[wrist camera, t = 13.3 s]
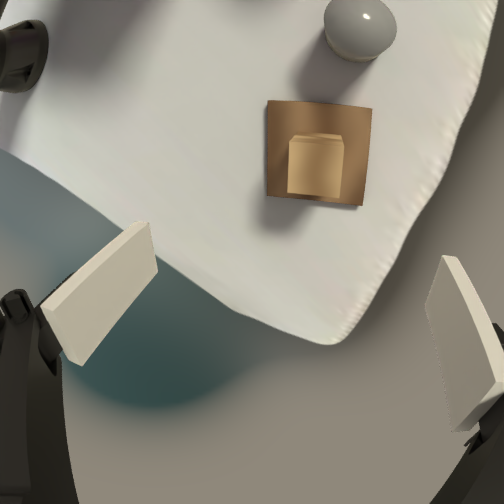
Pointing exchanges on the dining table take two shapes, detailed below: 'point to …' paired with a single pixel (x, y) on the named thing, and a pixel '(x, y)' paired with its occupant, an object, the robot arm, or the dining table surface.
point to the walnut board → (327, 122)
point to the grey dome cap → (359, 28)
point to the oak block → (315, 164)
